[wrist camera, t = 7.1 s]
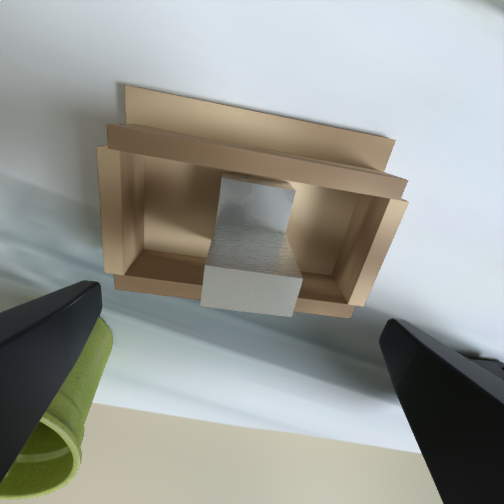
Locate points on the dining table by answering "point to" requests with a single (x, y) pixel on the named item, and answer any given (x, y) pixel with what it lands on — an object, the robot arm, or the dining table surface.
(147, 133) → the light wood shallow box
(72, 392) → the plant pot
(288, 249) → the bracket
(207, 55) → the dining table surface
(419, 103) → the dining table surface
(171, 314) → the dining table surface
